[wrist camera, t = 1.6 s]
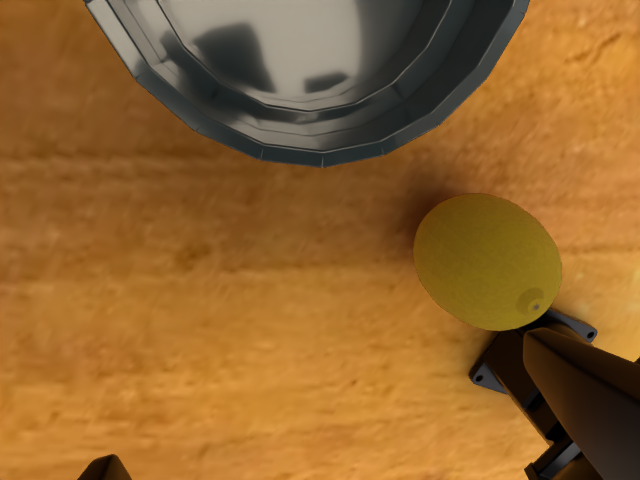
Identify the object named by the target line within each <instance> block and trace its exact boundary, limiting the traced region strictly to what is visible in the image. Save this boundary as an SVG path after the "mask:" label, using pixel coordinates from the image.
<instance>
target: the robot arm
mask: <svg viewBox="0 0 640 480" xmlns="http://www.w3.org/2000/svg"><path fill="white" fill-rule="evenodd" d="M597 333H598V332H597V330H596V329H595V328H594V327H592V326H591V325H589V324H587V323H584V322H582V321H580V320H577V319H575V318H573V317H570V316H568V315H566V314H563V313H561V312H559V311H557V310H554V309H552V308H550V307H549V308H548V309H547V311H546V312H544V313H543V314H542V315H541V316H540V317H539V318H537V319H536V320H534V321H533V322H531V323H529V324H526V325H524V326H521V327H519V328H516V329H510V330H504V331H500V333H499V334H498V335H497V337H496V338H495V340H494V341H493V342H492V344H491V345H490V346H489V348H488V349H487V350H486V352H485V353H484V354H483V356H482V357H481V358H480V360H479V361H478V362H477V364H476V365H475V366H474V368H473V369H472V371H471V372H470V374H469V378H470V380H471V381H472V382H473V383H474V384H476V385H479V386H482V387H485V388H488V389H492V390H495V391H498V392H501V393H504V394H508V395H509V396H510V397H511V399H512V400H513V401H514V402H515V404H516V405H517V406H518V407H519V409H520V410H521V411H522V412H523V414H524V415H525V416H526V417H527V419H528V420H529V421H530V422H531V424H532V425H533V426H534V427H535V429H536V430H537V431H538V433H539V434H540V435H541V436H542V438H543V439H544V440H545V441H546V443H547V444H548V445H549V446H550V447H549V448H548V449H547V450H546V451H545V452H544V453H543V454H542V455H541V456H540V457H539V458H538V459H537V460H536V461H535V462H534V463H530V464H529V465H528V466H527V467H526V468H525V469H524V471H525V473H526V475H527V477H528V479H529V480H640V357H639V358H638V359H637V360H636V361H635V362H631V361H629V360H626V359H624V358H621V357H618V356H616V355H613V354H611V353H608V352H606V351H603V350H601V349H598V348H595V347H594V346H593V345H592V344H591V342H592V341H593V340H594V338H595V337H596V336H597ZM77 480H132V479H131V477H130V475H129V474H128V472H127V470H126V469H125V467H124V465H123V464H122V462H121V461H120V459H119V458H118V456H117V455H115V454H111V455H107V456H104V457H100V458H97V459H95V460H93V461H92V462H91V463H90V464H89V466H88V467H87V468H86V469H85V471H84V472H83V473H82V474H81V476H80V477H79V478H78V479H77Z"/></svg>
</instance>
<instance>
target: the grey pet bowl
mask: <svg viewBox="0 0 640 480" xmlns="http://www.w3.org/2000/svg"><path fill="white" fill-rule="evenodd" d="M83 1H84V2H85V6H86V8H87V9H88V11H89V12H90V14H91V15H92V17H93V18H94V20H95V21H96V23H97V24H98V26H99V27H100V29H101V30H102V32H103V33H104V35H105V36H106V38H107V39H108V41H109V42H110V44H111V45H112V47H113V48H114V50H115V51H116V53H117V54H118V56H119V57H120V59H121V60H122V62H123V63H124V65H125V66H126V68H127V69H128V71H129V72H130V74H131V75H132V77H133V78H135V80H136V82H138V83H139V84H140V85H141V86H142V87H143V88H145V89H146V90H147V91H148V92H149V93H150V94H152V95H153V96H154V97H155V98H156V99H157V100H158V101H160V102H161V103H162V104H163V105H164V106H165V107H167V108H168V109H169V110H170V111H171V112H172V113H174V114H175V115H176V116H177V117H178V118H179V119H180V120H182V121H183V122H184V123H185V124H186V125H187V126H189V127H190V128H191V129H192V130H193V131H196V132H197V133H199V134H201V135H203V136H205V137H207V138H210V139H212V140H214V141H216V142H219V143H221V144H223V145H225V146H227V147H230V148H232V149H234V150H236V151H239V152H241V153H243V154H245V155H247V156H250V157H252V158H254V159H256V160H259V159H260V161H266V162H274V163H283V164H291V165H300V166H308V167H317V168H322V167H323V168H326V167H331V166H336V165H341V164H346V163H351V162H356V161H361V160H366V159H371V158H376V157H381V156H383V155H386V154H388V153H390V152H392V151H394V150H395V149H397V148H399V147H401V146H403V145H405V144H406V143H408V142H410V141H412V140H414V139H416V138H417V137H419V136H421V135H423V134H425V133H427V132H428V131H430V130H432V129H434V128H436V127H437V126H438V125H441V124H442V123H443V122H444V121H445V120H446V119H447V118H448V117H449V116H450V115H451V114H452V113H453V112H454V111H455V110H456V109H457V108H458V107H459V106H460V105H461V104H462V103H463V102H464V101H465V100H466V99H467V98H468V97H469V96H470V95H471V94H472V93H473V92H474V91H475V90H476V89H477V88H478V87H479V86H480V85H481V84H482V83H483V82H484V81H485V80H486V79H487V77H488V76H489V75H490V73H491V71H492V70H493V68H494V66H495V65H496V63H497V61H498V60H499V58H500V56H501V55H502V53H503V51H504V50H505V48H506V46H507V45H508V43H509V41H510V40H511V38H512V36H513V35H514V33H515V31H516V30H517V28H518V26H519V24H520V23H521V21H522V19H523V18H524V16H525V13H526V11H527V8H528V5H529V2H530V0H83Z"/></svg>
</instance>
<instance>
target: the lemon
mask: <svg viewBox="0 0 640 480" xmlns="http://www.w3.org/2000/svg"><path fill="white" fill-rule="evenodd" d="M413 256H414V264H415V267H416V270H417V273H418V276H419V279H420V281H421V283H422V285H423V286H424V287H425V289H426V290H427V292H428V293H429V294H430V296H431V297H432V298H433V300H434V301H435V302H436V303H437V304H438V305H439V306H441V307H442V308H443V309H444V310H446V311H447V312H449V313H450V314H451V315H453V316H454V317H456V318H457V319H459V320H461V321H462V322H464V323H466V324H469V325H471V326H474V327H478V328H481V329H484V330H494V331H504V330H510V329H516V328H519V327H521V326H524V325H526V324H529V323H531V322H533V321H534V320H536V319H537V318H539V317H540V316H541V315H542V314H543V313H544V312H546V311H547V309H548V308H549V307H550V306H551V304H552V303H553V301H554V299H555V297H556V295H557V293H558V291H559V288H560V284H561V279H562V263H561V259H560V255H559V252H558V249H557V246H556V244H555V242H554V241H553V239H552V238H551V237H550V235H549V234H548V233H547V231H546V230H545V229H544V227H543V226H542V225H541V224H540V222H539V221H538V220H537V219H536V218H534V217H533V216H532V215H531V214H530V213H528V212H527V211H525V210H524V209H522V208H521V207H519V206H518V205H516V204H514V203H513V202H511V201H509V200H506V199H503V198H499V197H496V196H492V195H488V194H482V193H472V194H462V195H458V196H455V197H451V198H449V199H447V200H445V201H443V202H441V203H439V204H438V205H437V206H435V207H434V208H433V209H432V210H431V211H429V212H428V214H427V215H426V216H425V218H424V219H423V220H422V221H421V223H420V225H419V228H418V230H417V232H416V235H415V240H414V244H413Z"/></svg>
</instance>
